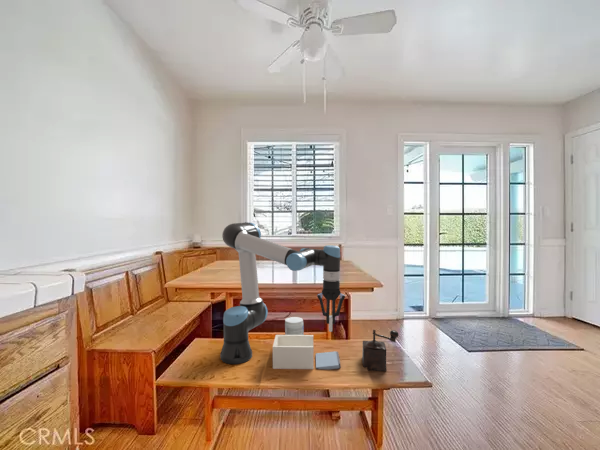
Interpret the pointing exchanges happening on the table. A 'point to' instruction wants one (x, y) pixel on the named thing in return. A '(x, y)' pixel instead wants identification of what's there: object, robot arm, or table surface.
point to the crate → (293, 352)
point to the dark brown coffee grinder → (376, 352)
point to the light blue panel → (327, 360)
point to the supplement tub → (294, 326)
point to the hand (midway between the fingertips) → (330, 330)
